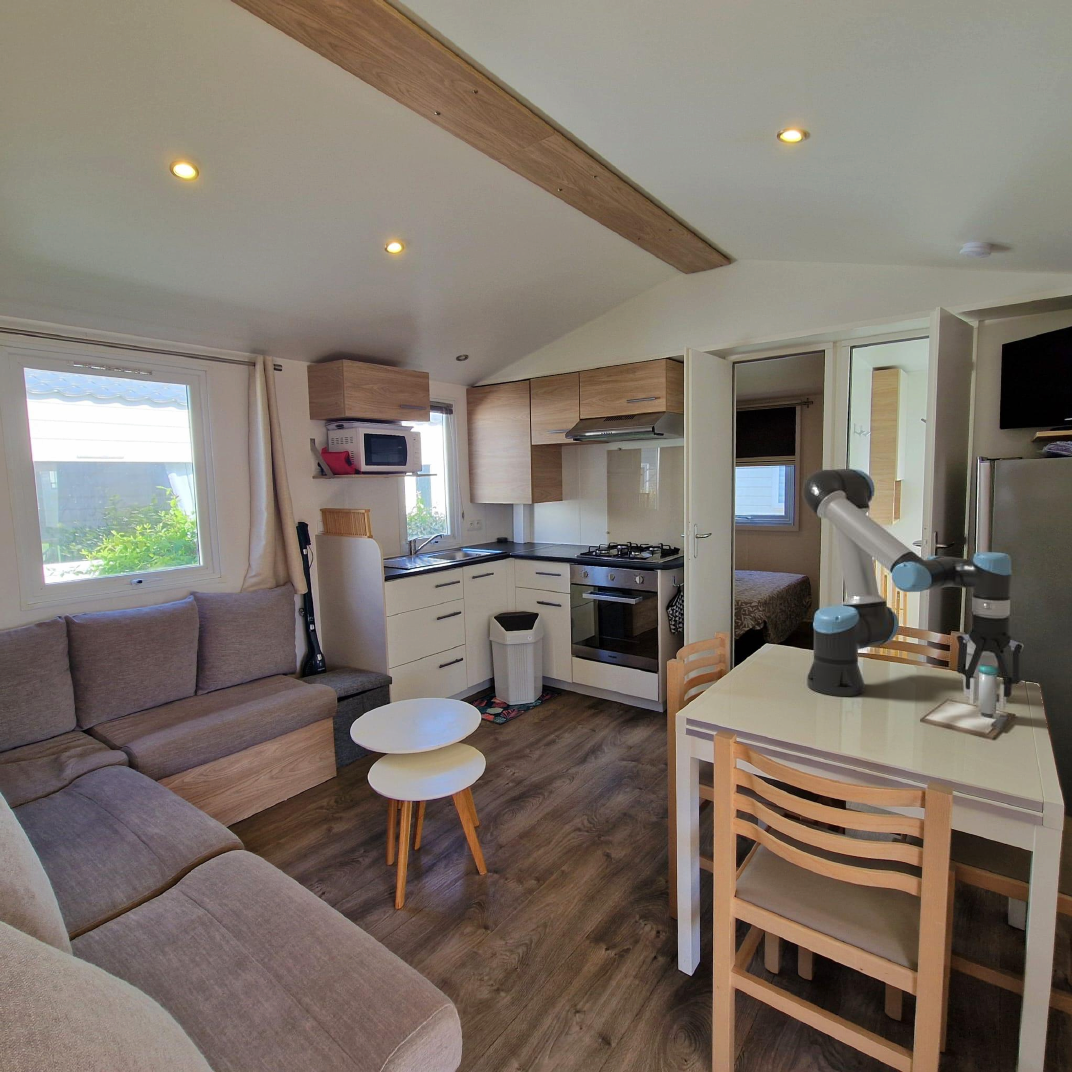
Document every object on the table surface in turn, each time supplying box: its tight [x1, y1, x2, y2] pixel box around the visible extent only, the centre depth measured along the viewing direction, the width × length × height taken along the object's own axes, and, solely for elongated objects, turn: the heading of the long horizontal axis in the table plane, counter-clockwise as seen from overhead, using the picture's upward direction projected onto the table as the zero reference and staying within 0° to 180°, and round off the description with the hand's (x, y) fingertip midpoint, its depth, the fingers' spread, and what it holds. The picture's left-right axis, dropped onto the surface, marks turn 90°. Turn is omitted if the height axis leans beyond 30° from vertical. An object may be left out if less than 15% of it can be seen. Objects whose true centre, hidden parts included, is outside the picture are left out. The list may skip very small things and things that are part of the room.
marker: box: [977, 665, 999, 718], centre depth 153 cm, size 4×4×13 cm
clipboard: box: [919, 698, 1017, 741], centre depth 154 cm, size 15×20×2 cm
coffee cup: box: [962, 639, 999, 701], centre depth 168 cm, size 10×10×15 cm
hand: (987, 705), depth 154 cm, fingers open, 5 cm apart
